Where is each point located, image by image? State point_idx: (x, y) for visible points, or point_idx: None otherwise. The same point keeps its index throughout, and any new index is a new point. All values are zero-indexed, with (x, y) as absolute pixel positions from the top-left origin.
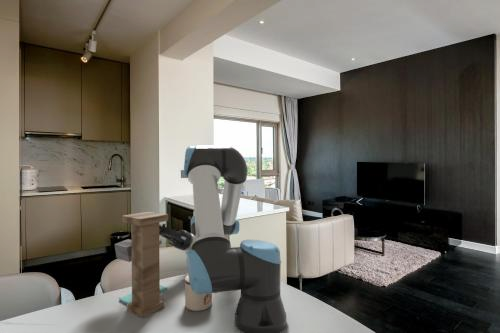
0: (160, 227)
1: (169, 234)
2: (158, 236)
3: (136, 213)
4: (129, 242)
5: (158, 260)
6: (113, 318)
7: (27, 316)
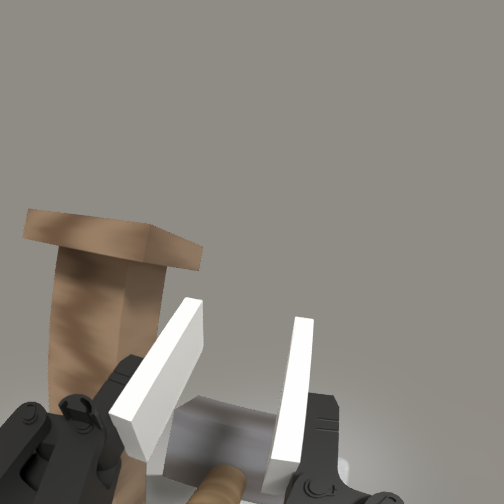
0: (101, 401)
1: (24, 467)
2: (53, 315)
3: (180, 237)
4: (242, 420)
5: (52, 410)
6: (164, 499)
7: (338, 472)
